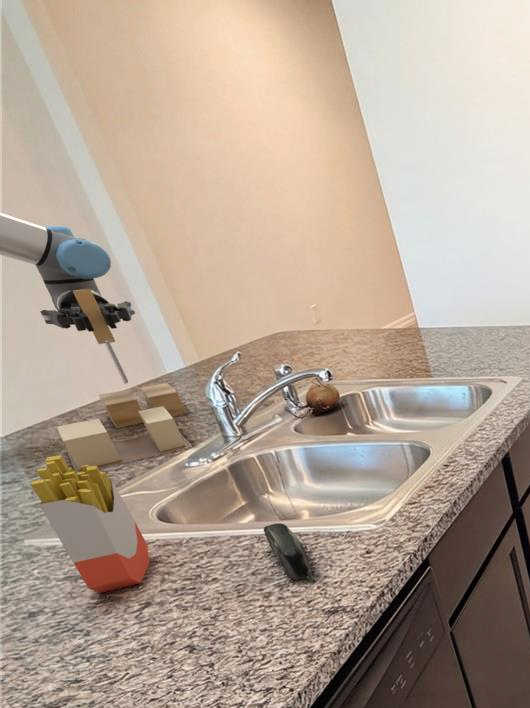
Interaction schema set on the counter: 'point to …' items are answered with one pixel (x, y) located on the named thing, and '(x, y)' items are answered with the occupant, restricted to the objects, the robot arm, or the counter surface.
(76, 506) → the french fries container
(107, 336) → the wooden handled screwdriver
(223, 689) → the counter surface
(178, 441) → the beige wooden block
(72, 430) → the beige block
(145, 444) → the board
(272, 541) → the dark green zucchini
